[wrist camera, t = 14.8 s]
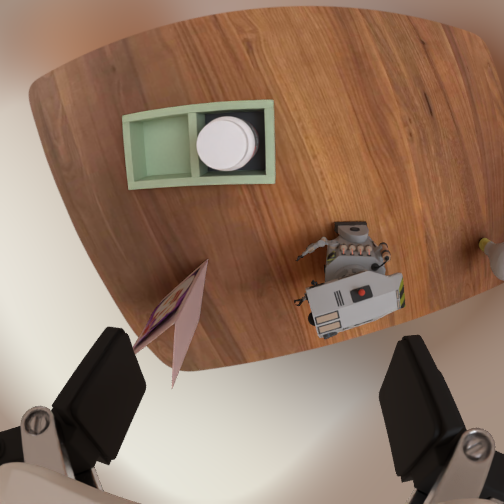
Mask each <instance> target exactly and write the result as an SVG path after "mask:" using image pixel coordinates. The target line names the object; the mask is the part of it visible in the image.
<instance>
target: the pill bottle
mask: <svg viewBox="0 0 504 504" xmlns="http://www.w3.org/2000/svg"><path fill="white" fill-rule="evenodd" d="M196 147H197V152H198V155H199V157H200V159H201V160H202V161H203V162H204V163H205V164H206V165H207V166H209V167H211V168H213V169H217V170H220V171H233V170H236V169H239V168H241V167H243V166H244V165H245V164H246V163H247V162H249V161H250V160H251V159H252V158H253V157H254V155H255V154H256V152H257V150H258V147H259V136H258V133H257V131H256V129H255V128H254V127H253V125H251V124H250V123H249V122H247V121H245V120H242V119H239V118H236V117H231V116H224V117H219V118H216V119H214V120H212V121H211V122H210V123H208V124H207V125H206V126H205V127H204V128H203V129H202V130H201V132H200V133H199V135H198V138H197V143H196Z"/></svg>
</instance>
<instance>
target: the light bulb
mask: <svg viewBox="0 0 504 504" xmlns="http://www.w3.org/2000/svg"><path fill="white" fill-rule="evenodd" d="M479 248H480V249H481V250H482V251H484V252H485V254H486V255H487V256H488V257H489V260H490V265H491V269H492V271H493V273H494V275H495V276H496V277H497V278H499V279H500V280H504V243H499V244H495V243H493V242H492V241H489V240H488V239H486V238H483V239H481V240H480V242H479Z"/></svg>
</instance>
